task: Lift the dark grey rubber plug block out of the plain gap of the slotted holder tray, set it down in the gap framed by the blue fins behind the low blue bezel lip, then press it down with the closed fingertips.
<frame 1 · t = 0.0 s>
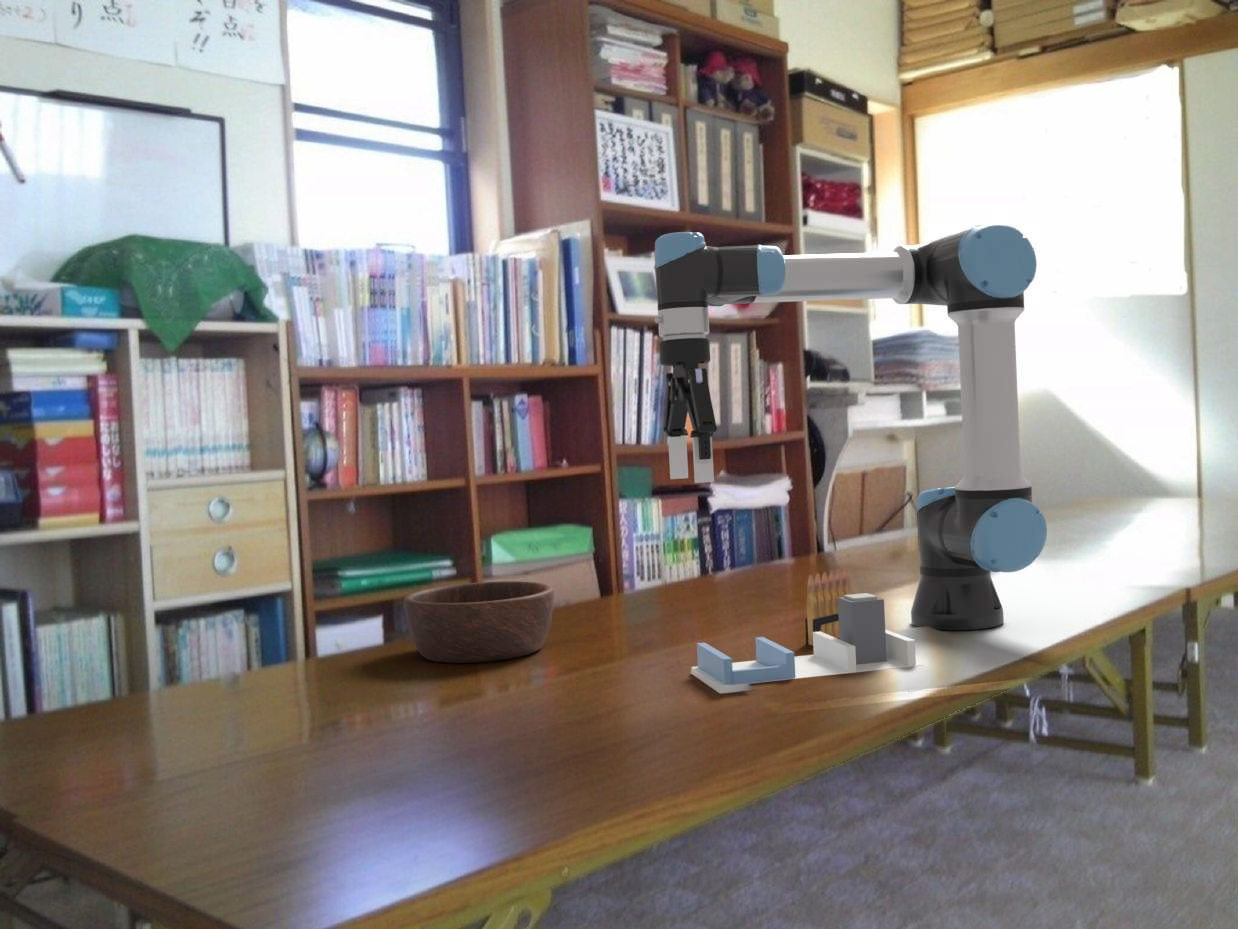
hand: (691, 480, 187), 28 cm above the table, fingers open, 13 cm apart
wooden bowl: (482, 653, 210), on the table
ammunition clip: (831, 647, 199), on the table
slotted holder tray: (805, 672, 180), on the table
plug: (863, 660, 182), point 1 cm above the table, touching slotted holder tray
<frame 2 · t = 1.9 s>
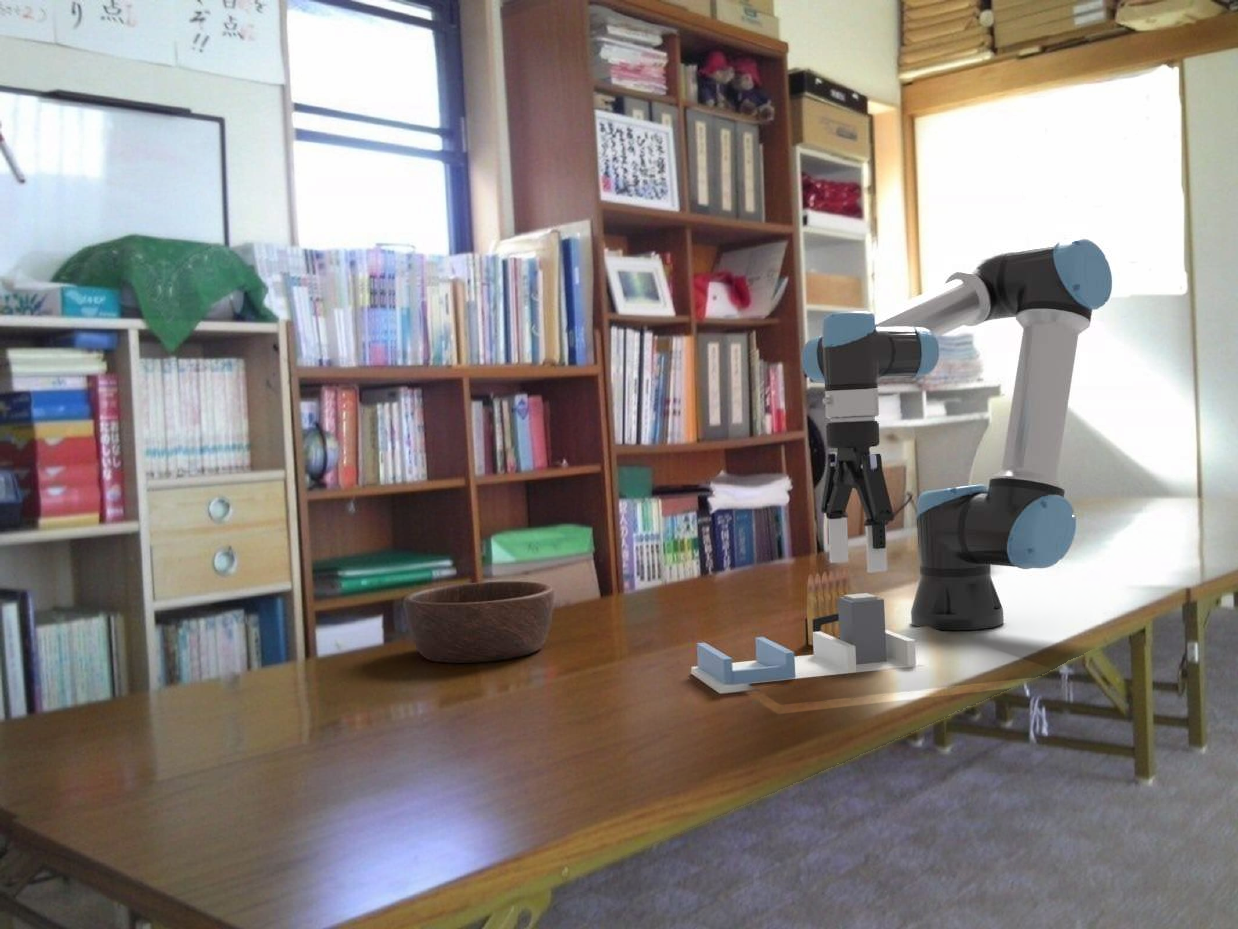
hand: (857, 567, 181), 15 cm above the table, fingers open, 13 cm apart
nothing on the table moved.
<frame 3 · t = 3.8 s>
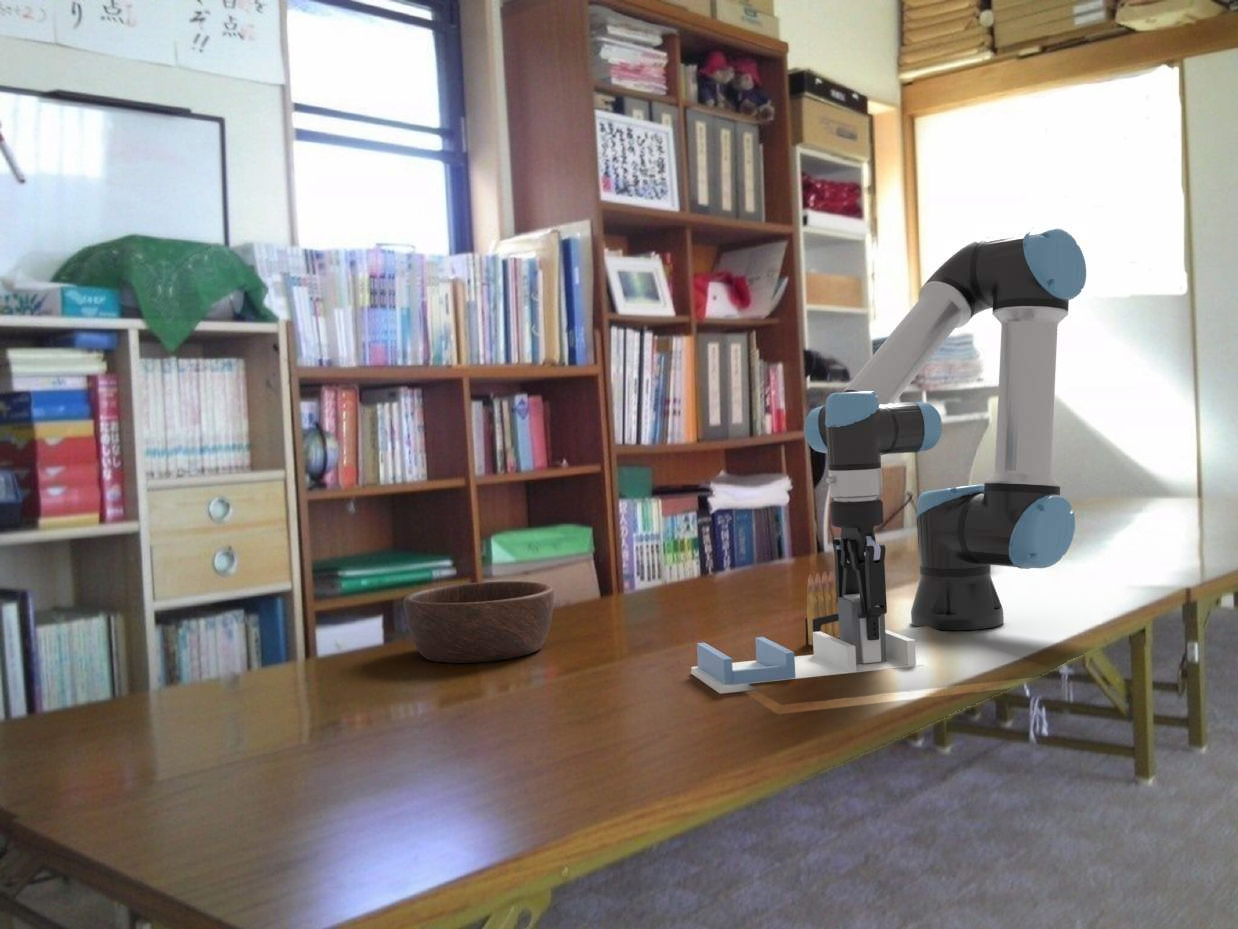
hand: (863, 658, 182), 1 cm above the table, fingers closed on slotted holder tray, plug, 5 cm apart
plug: (863, 660, 182), point 1 cm above the table, touching gripper
everything else where it was.
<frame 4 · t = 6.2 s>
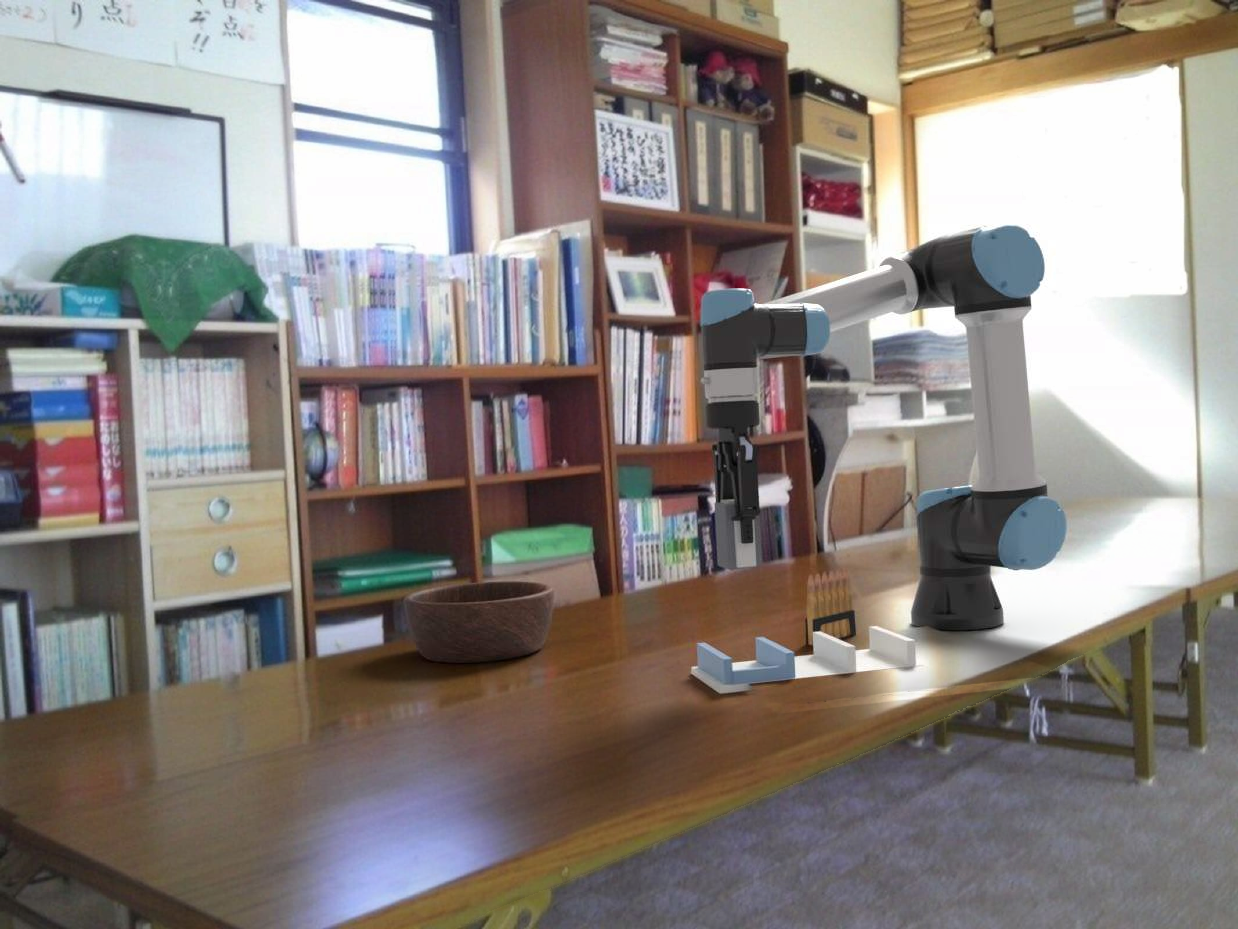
hand: (739, 564, 177), 16 cm above the table, fingers closed on plug, 5 cm apart
plug: (739, 566, 177), point 16 cm above the table, touching gripper
everything else where it was.
when the fingers open (3 cm above the table, at t = 8.9 s): plug drops 1 cm, resting on slotted holder tray.
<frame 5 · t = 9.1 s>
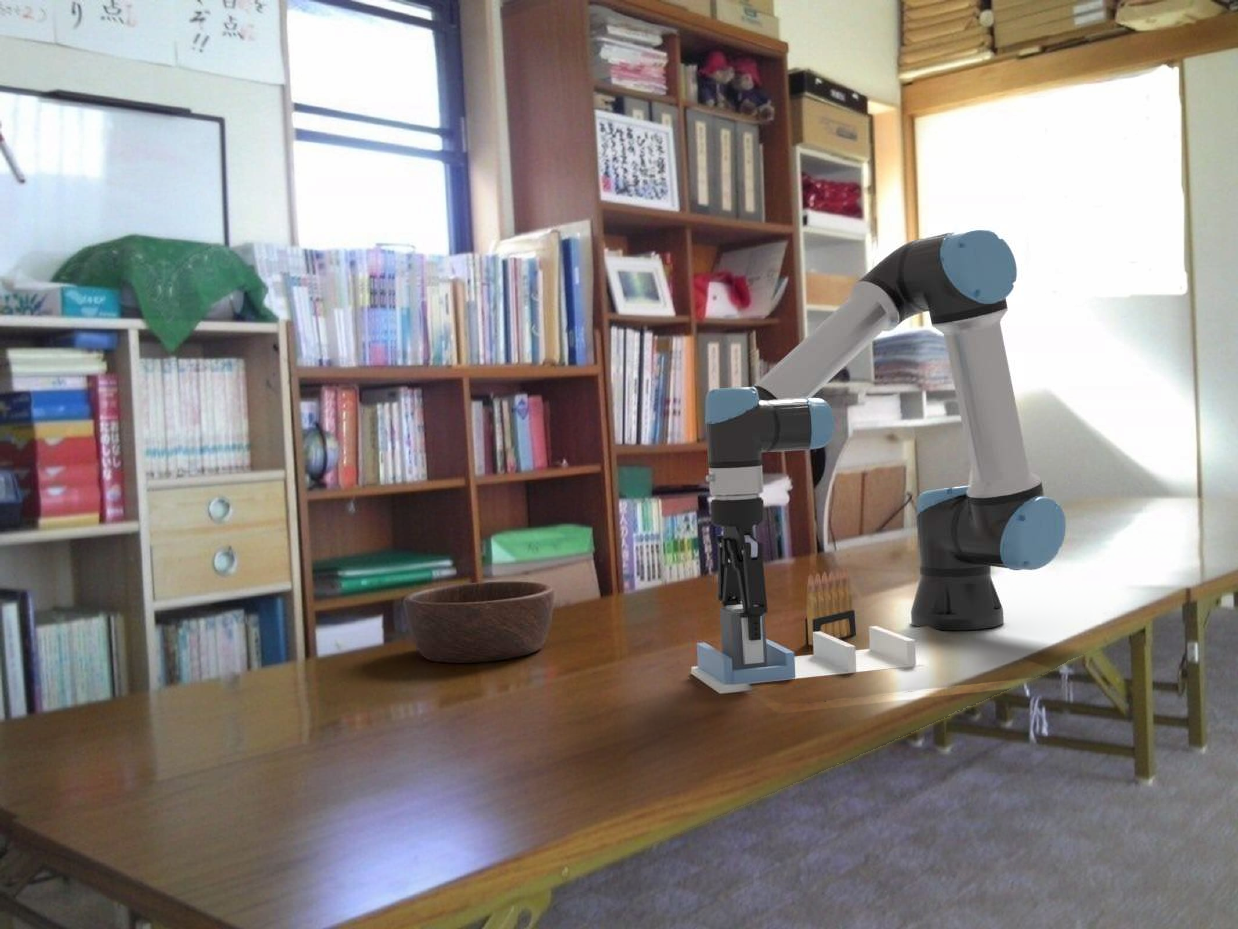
hand: (744, 657, 178), 3 cm above the table, fingers open, 7 cm apart
plug: (745, 672, 178), point 1 cm above the table, touching slotted holder tray
everything else where it was.
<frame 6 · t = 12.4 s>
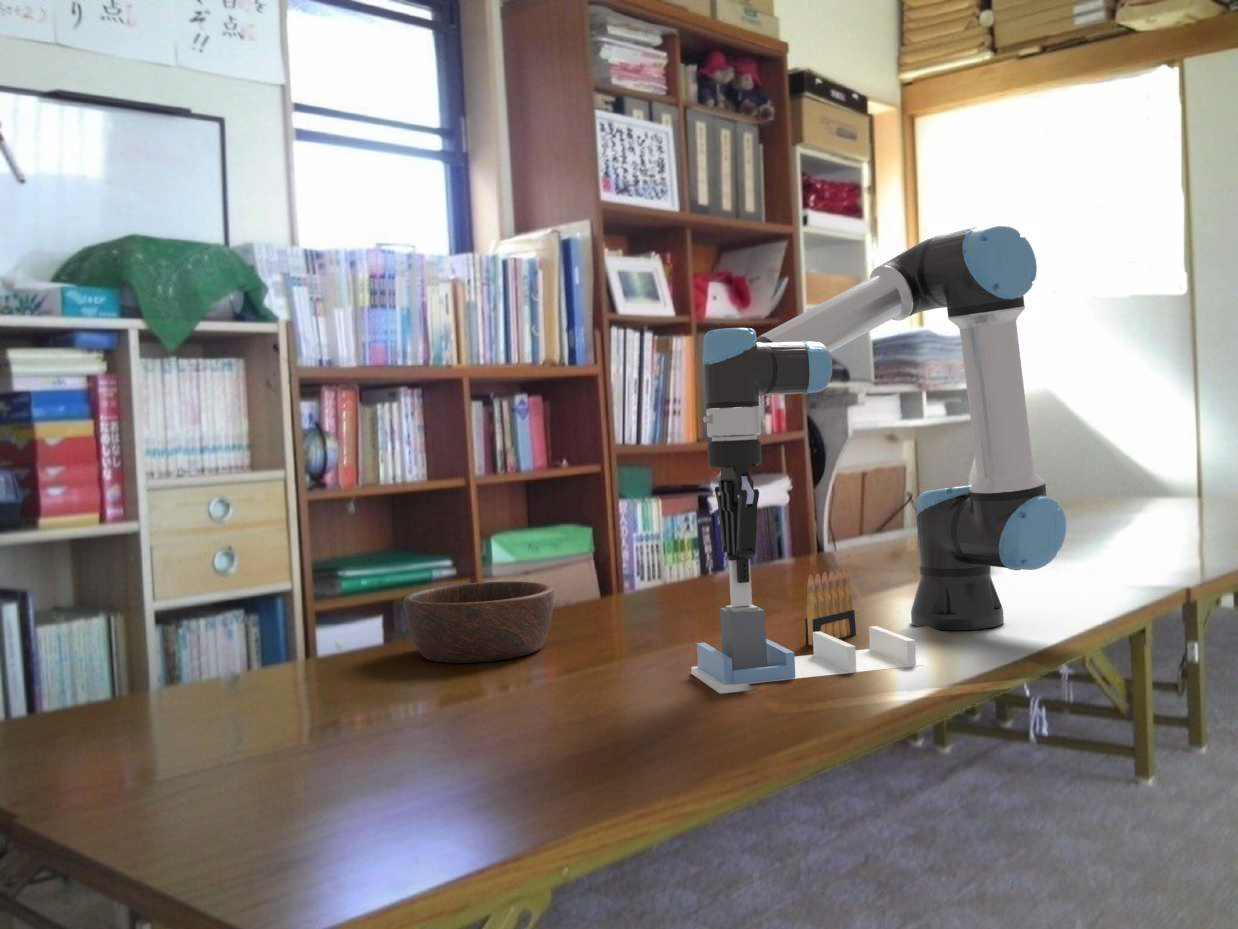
hand: (741, 604, 177), 11 cm above the table, fingers closed
plug: (745, 672, 178), point 1 cm above the table, touching slotted holder tray, gripper
everything else where it was.
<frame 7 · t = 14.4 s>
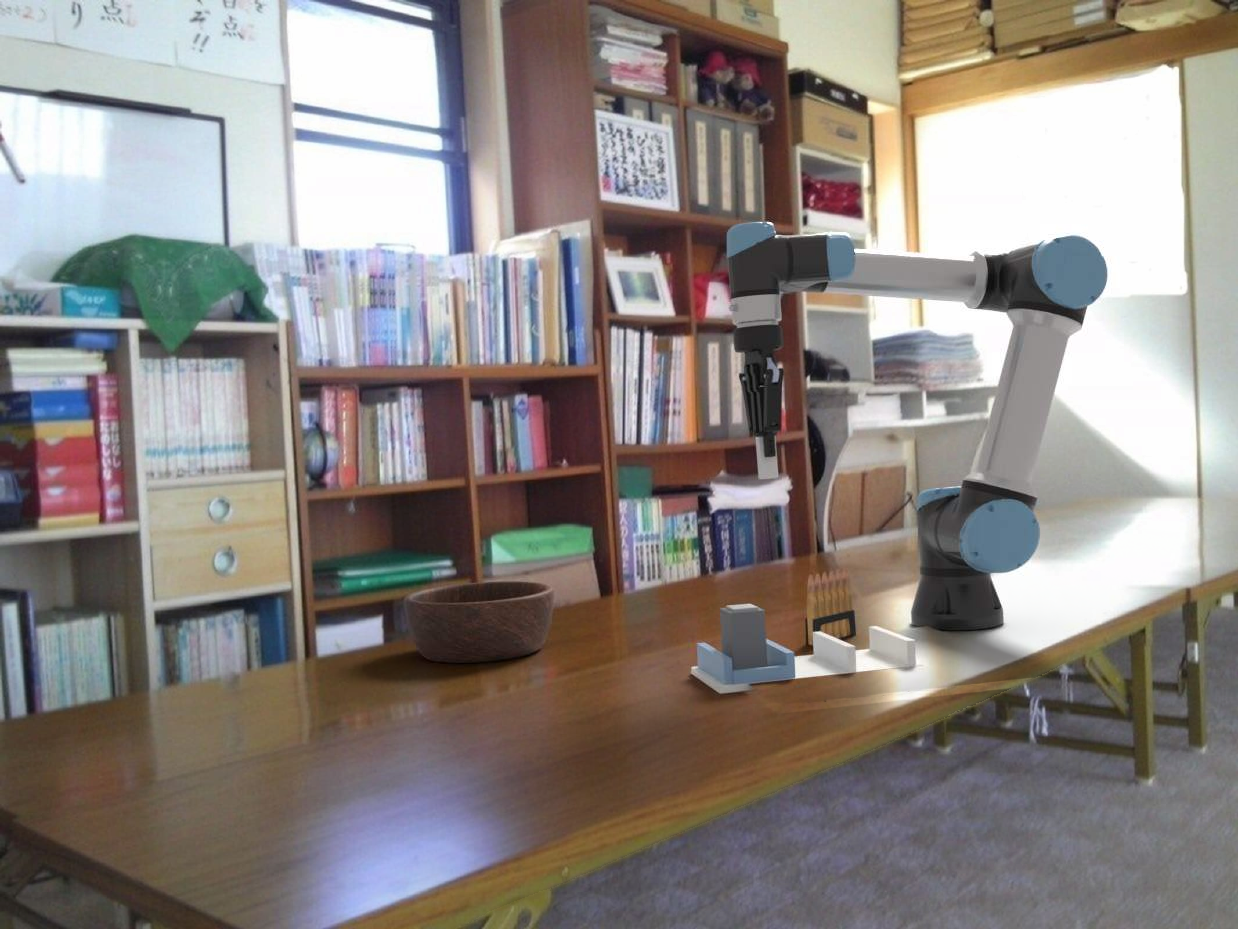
hand: (768, 478, 193), 27 cm above the table, fingers closed
plug: (745, 672, 178), point 1 cm above the table, touching slotted holder tray
everything else where it was.
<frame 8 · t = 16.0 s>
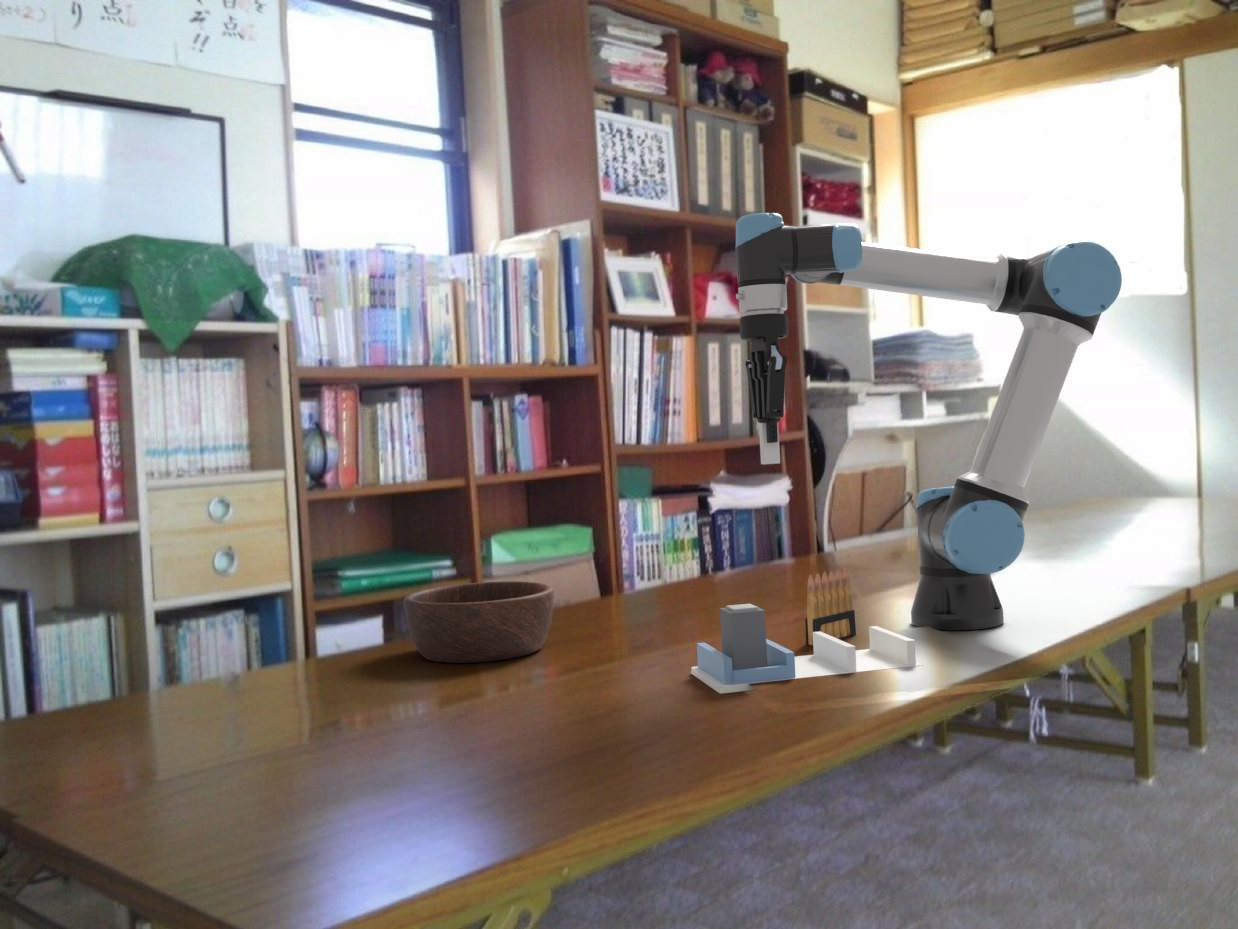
hand: (770, 463, 198), 29 cm above the table, fingers closed
nothing on the table moved.
at the end: plug inside the target area on the slotted holder tray (0.0 cm from its centre), point 1.0 cm above the slotted holder tray's base; plug tilted 0°; the gripper is holding nothing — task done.
